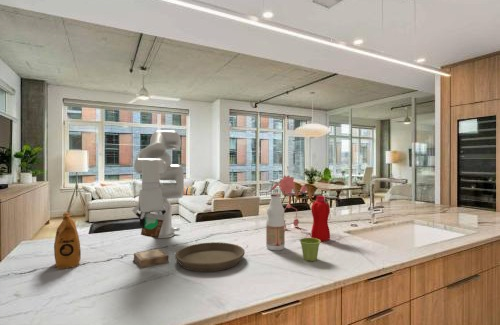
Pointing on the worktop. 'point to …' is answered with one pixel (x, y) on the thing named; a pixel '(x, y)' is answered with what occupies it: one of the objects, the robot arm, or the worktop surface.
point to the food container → (152, 224)
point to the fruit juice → (275, 224)
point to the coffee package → (67, 244)
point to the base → (151, 258)
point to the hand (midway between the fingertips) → (151, 225)
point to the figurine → (287, 186)
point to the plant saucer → (209, 256)
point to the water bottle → (320, 219)
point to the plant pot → (310, 248)
